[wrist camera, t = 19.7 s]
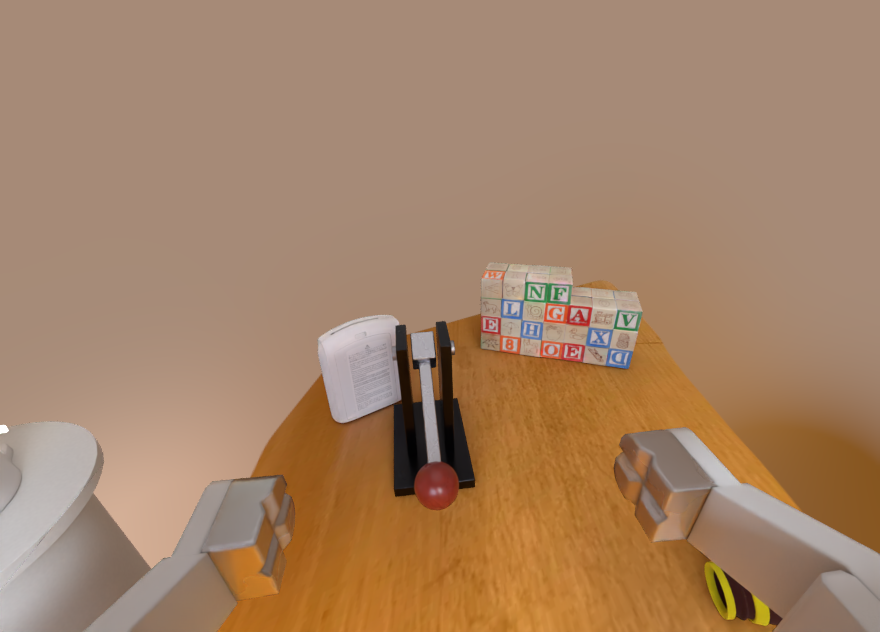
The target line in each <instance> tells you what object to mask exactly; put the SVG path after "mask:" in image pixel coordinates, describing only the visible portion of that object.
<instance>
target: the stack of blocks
mask: <svg viewBox="0 0 880 632" xmlns="http://www.w3.org/2000/svg"><path fill="white" fill-rule="evenodd" d="M572 286H573V281H572V268H567V267H549V266H537V265H517V264H506V263H489V265H488V266H487V268H486V271H485V272H484V274H483V276H482V278H481V349H487V350H494V351H500V352H507V353H514V354H522V355H528V356H535V357H547V358H554V359H563V360H570V361H577V362H583V363H590V364H597V365H606V366H611V367H618V368H626V369H628V368H629V365H630V361H631V358H632V354H633V350H634V347H635V343H636V339H637V335H638V329H639V325H640V321H641V317H642V309H641V305H640V302H639V300H638V297H637V293H636V292H627V291H613V290H605V289H591V288H581V287H572Z"/></svg>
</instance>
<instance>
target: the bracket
mask: <svg viewBox="0 0 880 632" xmlns="http://www.w3.org/2000/svg"><path fill="white" fill-rule="evenodd" d="M395 333H396V346H392V347H391V351H392V360H393V361H395V360H397V366H398V375H399V383H400V392H401V400H402V404H397V405H394V492H395V497H397V496H406V495H414V494H415V489H414V483H415V478H416V475H417V473H418V471H419V470H420V469H421V468H422V467H423V466H424V465H425V464H427V463H428V460H427V449H426V438H425V427H424V416H423V405H422V402H416V403H413V396H412V385H411V375H410V365H409V355H408V345H407V335H406V326H405V325H396V326H395ZM436 337H437V356H438V375H439V394H440V400H435V409H436V418H437V427H438V437H439V446H440V455H441V462H444V463H446V464H448V465H449V466H451V467H452V468H453V469H454V471H455V472H456V474H457V477H458V480H459V489H463V488H471V487H475V477H474V473H473V468H472V464H471V459H470V454H469V450H468V445H467V441H466V436H465V431H464V427H463V422H462V418H461V413H460V409H459V404H458V399H457V398H454V399H453V382H452V355H455V346H454V341H450V338H449V333H448V329H447V325H446V322H444V321H442V322H436Z"/></svg>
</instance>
